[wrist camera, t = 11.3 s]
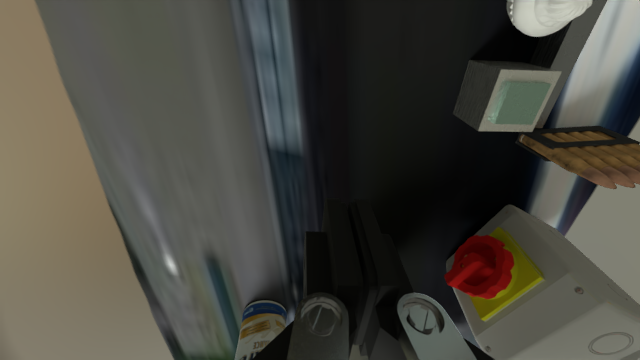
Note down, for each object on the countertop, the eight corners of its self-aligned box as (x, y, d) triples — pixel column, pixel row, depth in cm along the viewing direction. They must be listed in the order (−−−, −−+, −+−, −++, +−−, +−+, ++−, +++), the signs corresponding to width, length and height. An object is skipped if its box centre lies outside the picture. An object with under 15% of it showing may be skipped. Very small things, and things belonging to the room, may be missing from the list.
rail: (524, 119, 33) (564, 139, 28) (451, 117, 33) (479, 137, 28) (662, -182, 21) (782, -246, 16) (548, -195, 20) (634, -265, 15)
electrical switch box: (476, 181, 41) (577, 291, 23) (548, 222, 43) (688, 349, 26) (415, 243, 47) (458, 366, 30) (481, 276, 50) (556, 407, 32)
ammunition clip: (600, 125, 35) (723, 173, 25) (593, 138, 36) (708, 190, 26) (519, 130, 34) (611, 180, 24) (514, 143, 35) (600, 197, 25)
